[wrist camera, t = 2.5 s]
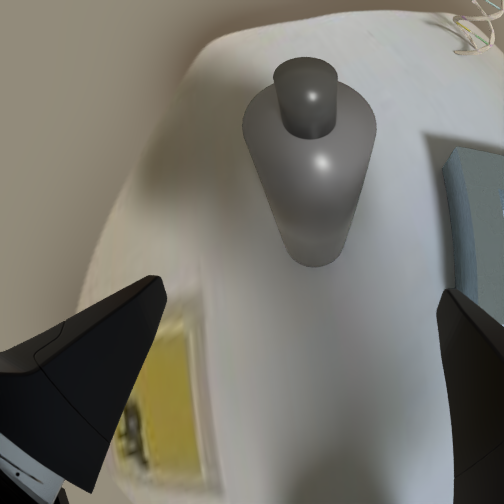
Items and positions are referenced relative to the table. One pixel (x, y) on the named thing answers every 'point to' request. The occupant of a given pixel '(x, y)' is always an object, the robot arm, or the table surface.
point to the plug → (310, 155)
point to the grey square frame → (477, 226)
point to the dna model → (479, 18)
